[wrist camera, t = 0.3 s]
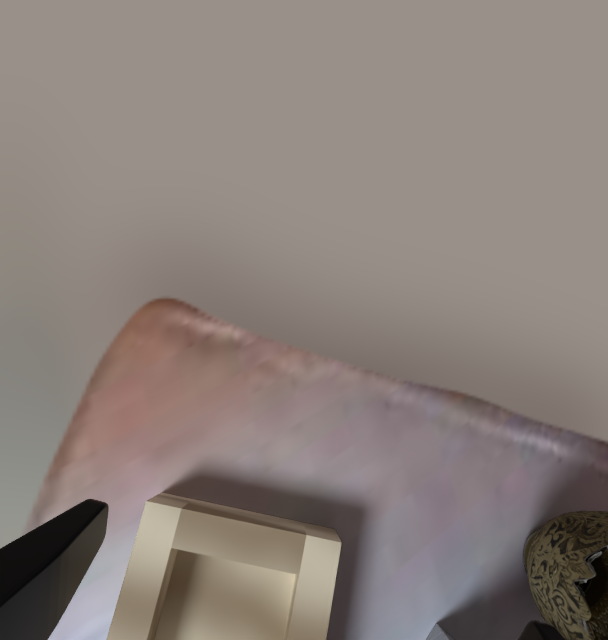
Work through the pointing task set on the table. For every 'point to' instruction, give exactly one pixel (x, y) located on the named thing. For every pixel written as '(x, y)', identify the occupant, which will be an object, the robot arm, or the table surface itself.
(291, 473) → the table surface
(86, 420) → the table surface
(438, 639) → the steel bar
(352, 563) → the table surface
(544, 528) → the cup
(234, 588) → the socket block
